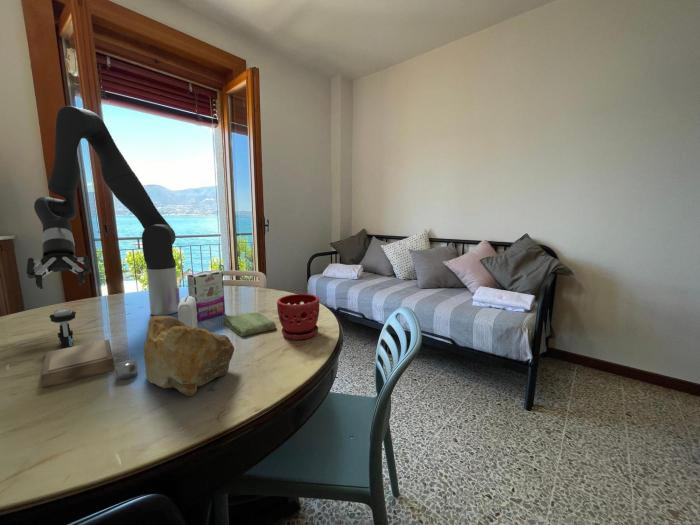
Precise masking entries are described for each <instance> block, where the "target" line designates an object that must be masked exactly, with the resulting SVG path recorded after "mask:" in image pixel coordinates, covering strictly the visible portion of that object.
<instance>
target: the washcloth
mask: <svg viewBox="0 0 700 525" xmlns="http://www.w3.org/2000/svg"><path fill="white" fill-rule="evenodd" d="M223 324H224V325H225V326H227V327H228V328H229V329H230V330H231V331H232V332H234V333H236V335H237V336H239V337H247V336H252V335H256V334H258V333H264V332H269V331H273V330H276V326H277V325H276V322H275V321H274V320H273V319H270V318H269V317H267V316H266V315H264V314H262V312H259V311H253V312H246V313H244V312H243V313H238V314H235V315H226V316H225V317H224V322H223Z"/></svg>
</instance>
